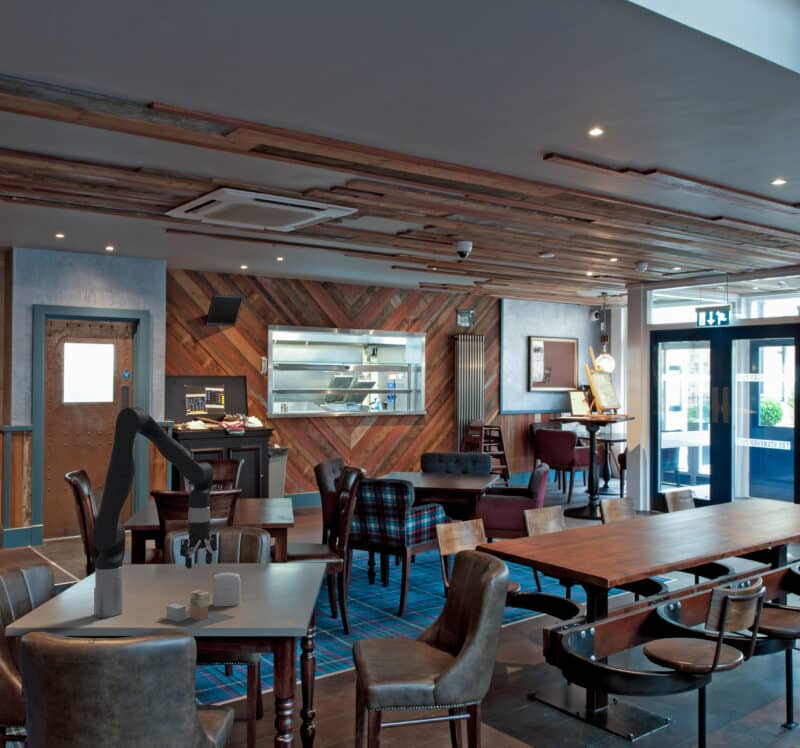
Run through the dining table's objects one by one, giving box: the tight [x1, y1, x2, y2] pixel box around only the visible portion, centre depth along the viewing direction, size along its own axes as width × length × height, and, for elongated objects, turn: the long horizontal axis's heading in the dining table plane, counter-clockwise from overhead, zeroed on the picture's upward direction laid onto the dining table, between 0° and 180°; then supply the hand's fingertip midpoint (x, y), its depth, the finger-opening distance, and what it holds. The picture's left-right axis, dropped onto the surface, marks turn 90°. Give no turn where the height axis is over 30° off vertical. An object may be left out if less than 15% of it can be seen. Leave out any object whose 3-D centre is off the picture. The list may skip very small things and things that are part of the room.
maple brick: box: [189, 589, 210, 608], centre depth 278 cm, size 6×3×4 cm, turn 53°
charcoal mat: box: [157, 609, 235, 631], centre depth 278 cm, size 20×18×1 cm
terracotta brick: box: [188, 604, 209, 621], centre depth 279 cm, size 6×3×4 cm, turn 53°
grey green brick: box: [166, 603, 186, 622], centre depth 277 cm, size 6×3×4 cm, turn 53°
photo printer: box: [212, 572, 242, 607], centre depth 296 cm, size 10×4×12 cm, turn 95°
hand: (198, 566), depth 279 cm, fingers open, 8 cm apart
